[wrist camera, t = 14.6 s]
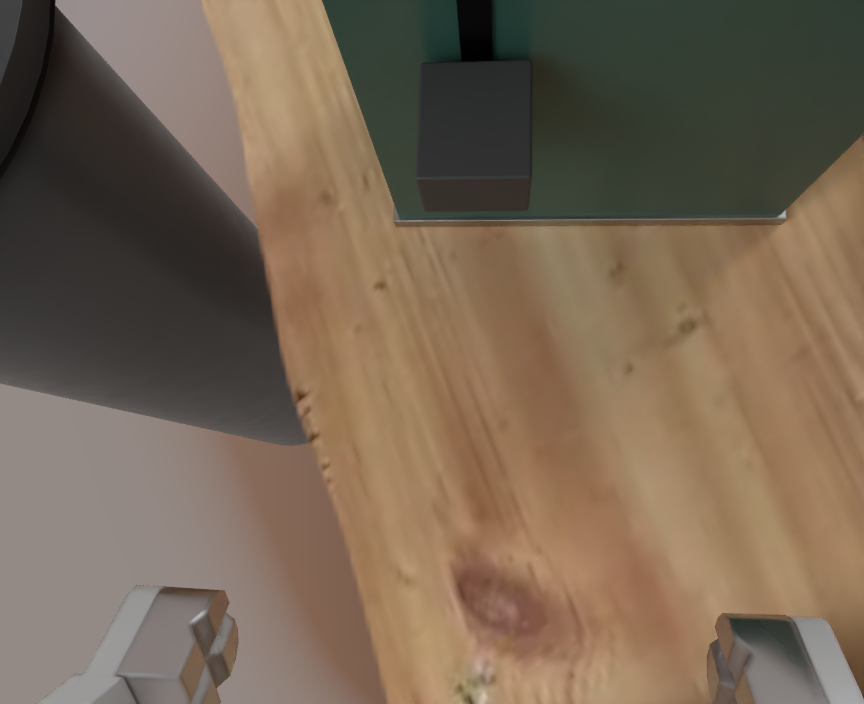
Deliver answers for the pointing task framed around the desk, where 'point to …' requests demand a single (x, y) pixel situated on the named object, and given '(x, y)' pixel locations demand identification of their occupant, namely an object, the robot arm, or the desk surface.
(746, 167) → the toaster
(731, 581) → the desk surface
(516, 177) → the handle
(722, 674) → the robot arm
